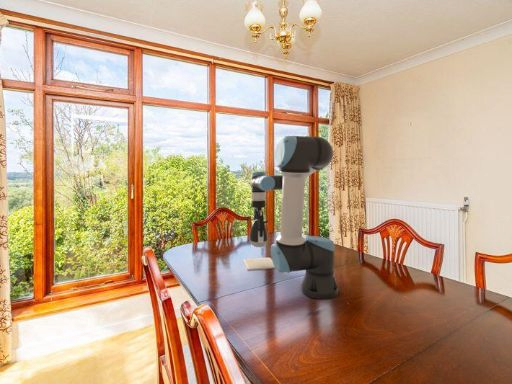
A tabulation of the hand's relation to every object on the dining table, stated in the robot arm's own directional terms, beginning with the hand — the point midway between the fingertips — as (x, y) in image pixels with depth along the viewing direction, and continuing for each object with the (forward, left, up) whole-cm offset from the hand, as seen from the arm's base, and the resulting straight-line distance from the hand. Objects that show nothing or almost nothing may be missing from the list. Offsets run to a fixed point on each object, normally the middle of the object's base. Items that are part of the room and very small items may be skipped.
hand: (258, 240), depth 155 cm
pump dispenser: (0, 0, -3) cm, 3 cm away
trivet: (0, 0, -13) cm, 13 cm away
